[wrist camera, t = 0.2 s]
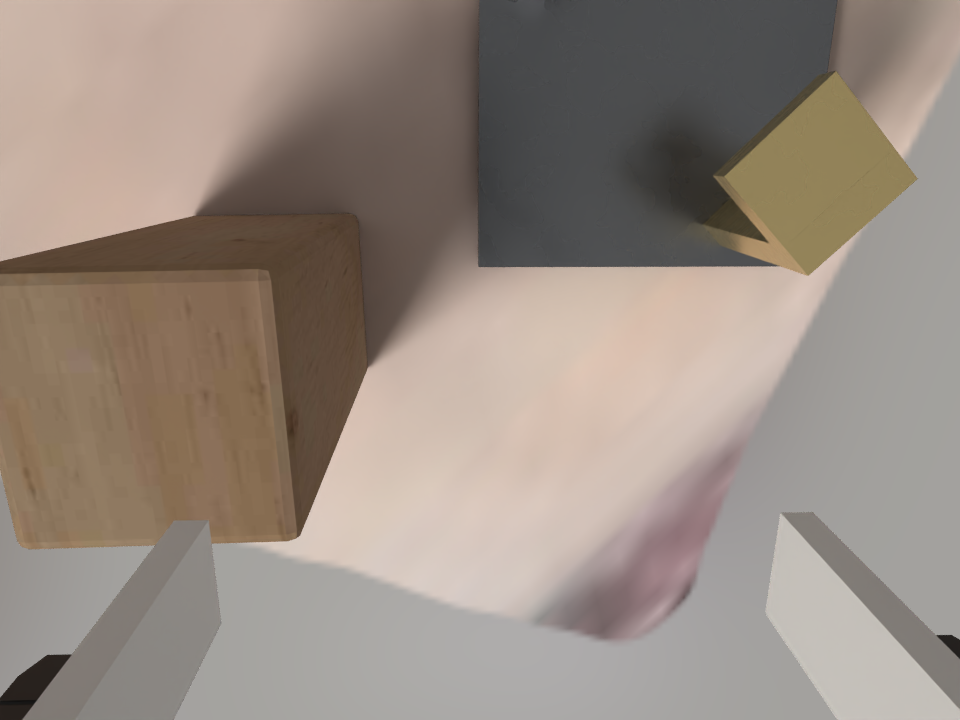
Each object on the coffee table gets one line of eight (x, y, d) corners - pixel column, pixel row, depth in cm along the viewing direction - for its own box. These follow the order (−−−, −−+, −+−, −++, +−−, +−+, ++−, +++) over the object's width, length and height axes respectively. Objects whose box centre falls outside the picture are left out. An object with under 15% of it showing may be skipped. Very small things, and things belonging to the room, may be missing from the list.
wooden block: (358, 212, 40) (272, 264, 21) (369, 372, 43) (301, 546, 24) (188, 215, 40) (-57, 270, 21) (209, 376, 43) (13, 555, 24)
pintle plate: (479, -106, 36) (490, -220, 25) (841, -99, 36) (1007, -207, 25) (477, 264, 41) (486, 303, 30) (791, 263, 42) (910, 301, 31)
